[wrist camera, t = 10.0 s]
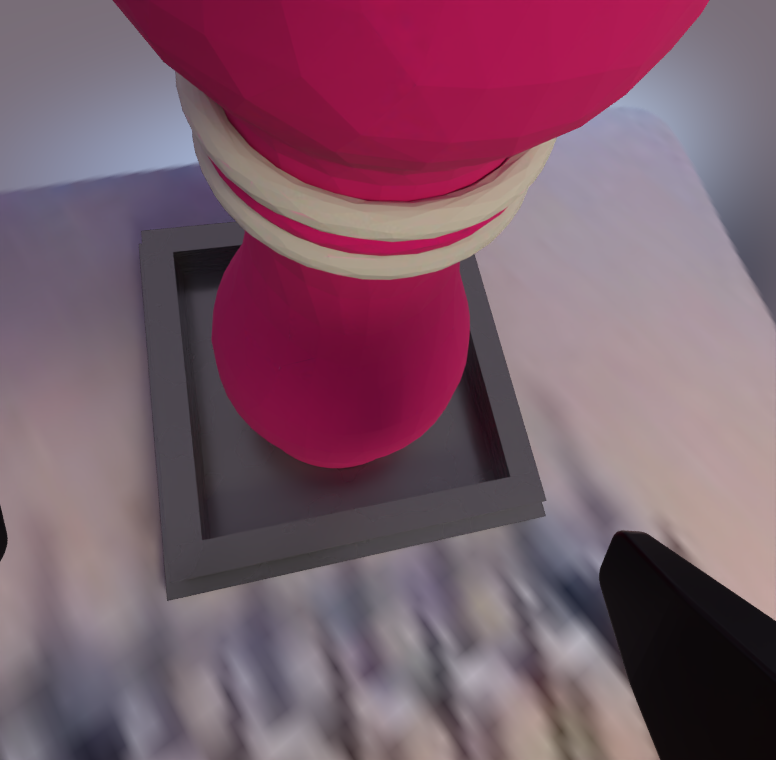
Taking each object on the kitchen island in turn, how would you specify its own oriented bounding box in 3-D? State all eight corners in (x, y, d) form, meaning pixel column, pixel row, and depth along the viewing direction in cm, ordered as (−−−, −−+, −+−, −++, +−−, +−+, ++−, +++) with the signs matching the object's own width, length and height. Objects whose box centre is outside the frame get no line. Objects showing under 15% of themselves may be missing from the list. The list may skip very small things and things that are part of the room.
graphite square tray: (172, 599, 17) (153, 605, 15) (143, 252, 21) (125, 220, 19) (539, 517, 19) (564, 512, 17) (454, 220, 23) (467, 188, 21)
